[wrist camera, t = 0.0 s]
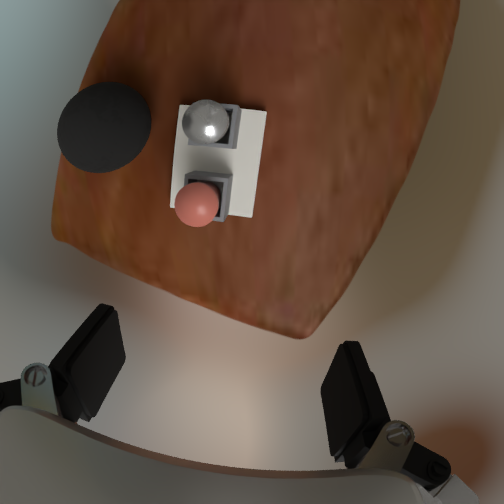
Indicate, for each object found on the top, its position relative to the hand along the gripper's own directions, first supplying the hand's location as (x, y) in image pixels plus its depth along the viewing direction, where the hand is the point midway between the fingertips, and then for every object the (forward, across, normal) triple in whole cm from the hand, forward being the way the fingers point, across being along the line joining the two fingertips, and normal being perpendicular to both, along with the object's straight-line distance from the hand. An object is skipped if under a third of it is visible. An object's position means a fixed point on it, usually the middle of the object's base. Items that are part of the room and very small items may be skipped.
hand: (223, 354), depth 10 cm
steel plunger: (+26, +6, -10) cm, 28 cm away
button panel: (+31, +6, -6) cm, 32 cm away
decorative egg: (+31, +20, -10) cm, 39 cm away
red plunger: (+26, +6, -1) cm, 27 cm away
